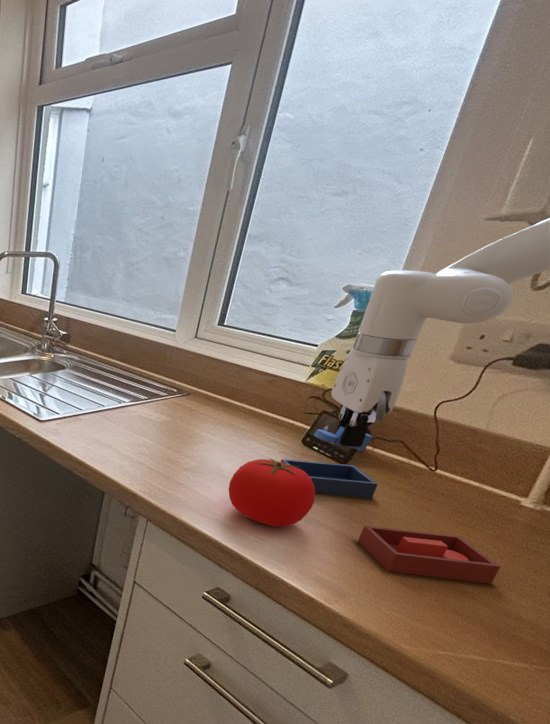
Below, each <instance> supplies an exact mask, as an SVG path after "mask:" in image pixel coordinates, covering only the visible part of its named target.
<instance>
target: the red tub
mask: <svg viewBox="0 0 550 724" xmlns="http://www.w3.org/2000/svg"><path fill="white" fill-rule="evenodd" d="M402 537H410V538H419V539H428V540H437V541H442V542H443V543H444V544H446V545H447V546H448V547H447V550H452V551H455V552H458V553H460V554H462V555H464V556H465V557H467V558H468V560H469V561H465V560H457V559H448V558H440V557H431V556H423V555H414V554H406V553H398V552H397V548H398V546H399V544H400V541H401V539H402ZM357 542H358V543H359V544H360V545H361V546H362V547H363V548H364V550H366V552H368V553H369V554H370V555H371V556H372V557H373V558H374V559H375V560H376V561H377V562H378V563H379V564H380V565H381V566H382V567H383V568H384V569H385V570H386V571H387V572H392V573H401V574H408V575H417V576H424V577H433V578H438V579H439V578H440V579H448V580H455V581H457V580H458V581H463V582H464V581H465V582H472V583H479V584H489V585H492V583H493V581H494V580H495V578H496V577H497V575H498V572H499V570H500V569H501V566H500V565H499V564H497V563H496V562H495V561H494V560H493V559H491V558H489V557H488V556H487V555H486V554H485V553H483V552H481V551H480V550H479V549H478V548H476V547H475V546H473V545H472V544H471V543H469V541H467V540H466V539H465V538H462V537H461V536H460V535H454V534H445V533H435V532H427V531H419V530H418V531H417V530H409V529H401V528H400V529H399V528H389V527H381V526H373V525H364V526H363V528H362V530H361V533H360V535H359V537H358V540H357Z"/></svg>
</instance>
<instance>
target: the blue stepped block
mask: <svg viewBox="0 0 550 724" xmlns="http://www.w3.org/2000/svg"><path fill="white" fill-rule="evenodd" d="M344 429H345V427H342V426H341V427H340V428H339V429H338V431H337V432H336V434H335V433H332V432H330V431H327V430H324V429H319V428H318V429H316V431H315V433H314V434H313V436H314V437H316V438H317V439H319V440H321V441H323V442H326V443H330V444H337V445H339V446H340V445H341V444H340V440H341V437H342V434H343V432H344ZM334 434H335V435H334ZM372 439H373V436H371V435H370V434H369V433H366V435H365V438H364V441H363V443H362V446H360V447H354V446H346V447H347V448H351V449H354V450H357V451H360V452H363V451H364V450H365V449H366V447H367V446H368V444H369V443H370V442H371V440H372ZM341 446H342V445H341Z"/></svg>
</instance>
